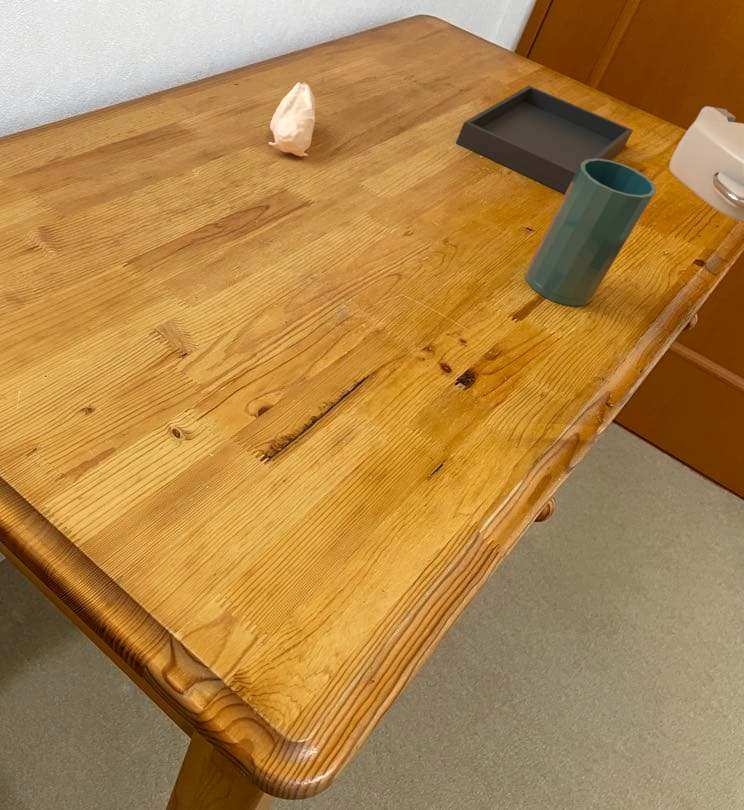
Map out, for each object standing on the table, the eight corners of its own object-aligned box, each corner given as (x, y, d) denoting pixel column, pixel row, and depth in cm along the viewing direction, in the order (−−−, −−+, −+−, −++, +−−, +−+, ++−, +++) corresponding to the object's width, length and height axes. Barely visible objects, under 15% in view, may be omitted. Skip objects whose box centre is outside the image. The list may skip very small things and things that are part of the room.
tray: (520, 104, 119) (528, 85, 117) (622, 149, 114) (633, 129, 112) (455, 143, 106) (463, 121, 104) (568, 196, 100) (579, 174, 98)
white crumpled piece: (261, 129, 102) (266, 147, 93) (284, 73, 99) (291, 86, 90) (299, 145, 103) (307, 164, 94) (323, 89, 100) (334, 104, 91)
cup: (574, 268, 88) (634, 162, 80) (603, 308, 83) (670, 200, 75) (514, 263, 86) (569, 154, 78) (540, 303, 81) (601, 192, 73)
